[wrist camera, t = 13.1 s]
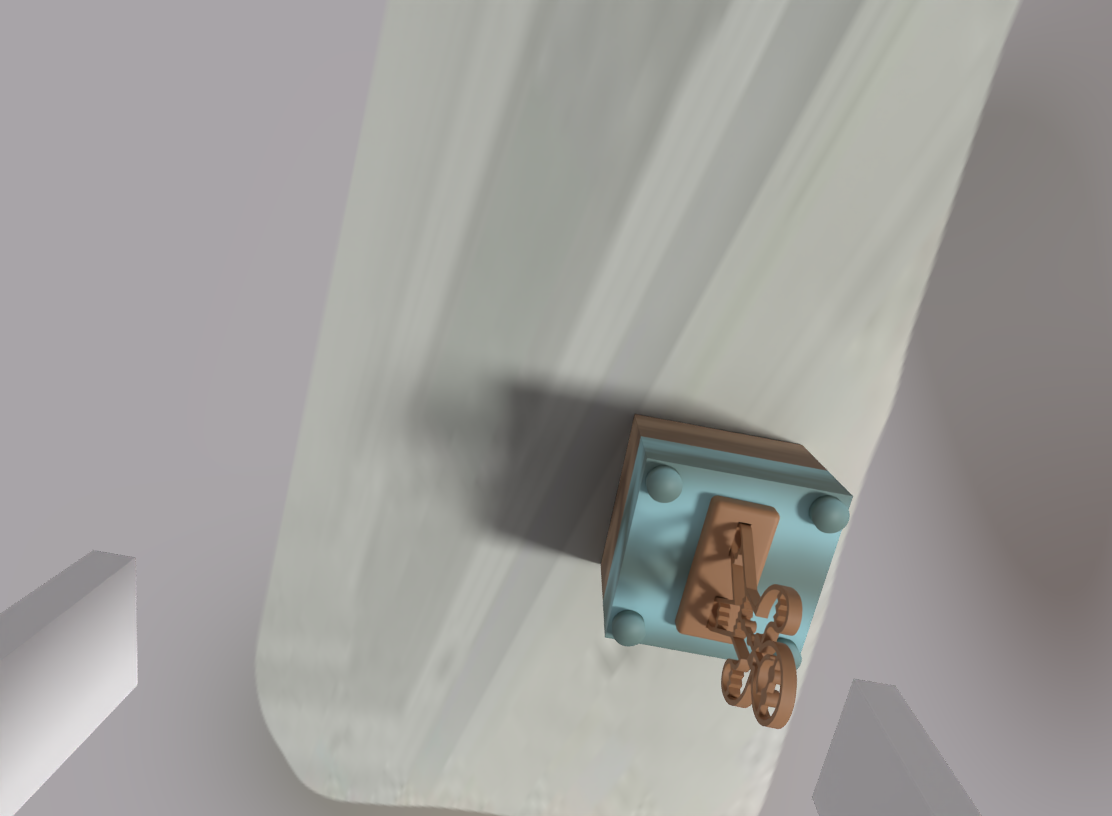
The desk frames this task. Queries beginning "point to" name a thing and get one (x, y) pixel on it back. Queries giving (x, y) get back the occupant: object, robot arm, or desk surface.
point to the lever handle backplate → (743, 607)
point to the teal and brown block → (678, 517)
